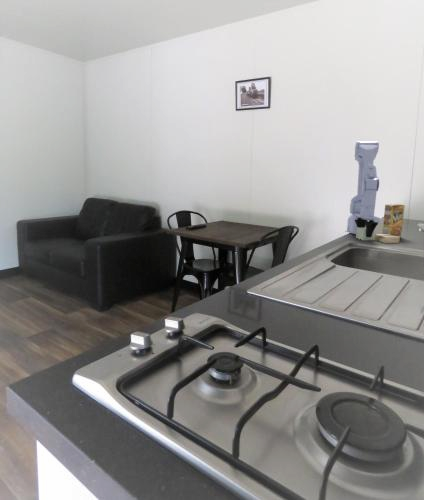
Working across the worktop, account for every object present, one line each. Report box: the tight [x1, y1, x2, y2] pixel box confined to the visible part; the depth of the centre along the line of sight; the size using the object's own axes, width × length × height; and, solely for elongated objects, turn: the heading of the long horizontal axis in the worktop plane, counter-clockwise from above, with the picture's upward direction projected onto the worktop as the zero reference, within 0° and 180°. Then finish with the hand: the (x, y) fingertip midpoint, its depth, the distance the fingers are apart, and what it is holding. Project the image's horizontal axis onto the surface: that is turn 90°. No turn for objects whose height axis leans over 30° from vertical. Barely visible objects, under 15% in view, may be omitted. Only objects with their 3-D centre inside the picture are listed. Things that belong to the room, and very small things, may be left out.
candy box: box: [381, 203, 406, 238], centre depth 175 cm, size 9×4×15 cm, turn 118°
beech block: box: [374, 233, 401, 244], centre depth 165 cm, size 7×7×3 cm
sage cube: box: [355, 227, 375, 241], centre depth 169 cm, size 5×5×5 cm
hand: (364, 236), depth 169 cm, fingers closed on sage cube, 5 cm apart
